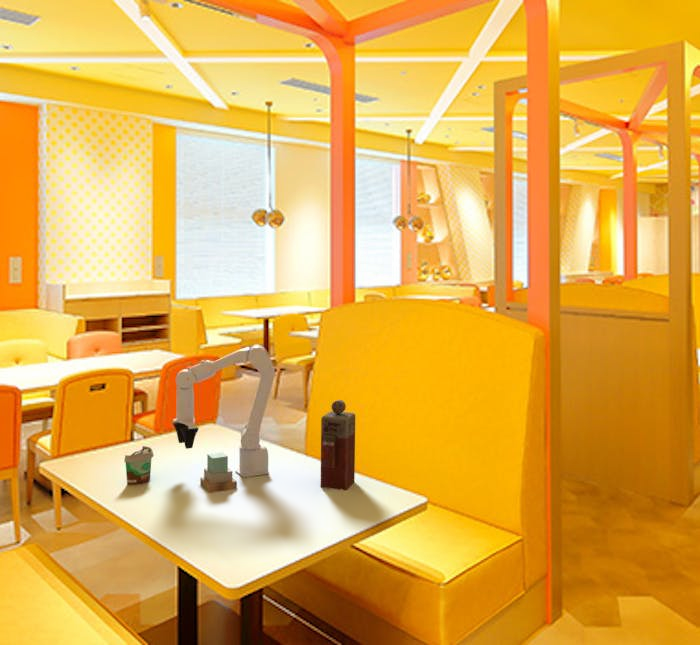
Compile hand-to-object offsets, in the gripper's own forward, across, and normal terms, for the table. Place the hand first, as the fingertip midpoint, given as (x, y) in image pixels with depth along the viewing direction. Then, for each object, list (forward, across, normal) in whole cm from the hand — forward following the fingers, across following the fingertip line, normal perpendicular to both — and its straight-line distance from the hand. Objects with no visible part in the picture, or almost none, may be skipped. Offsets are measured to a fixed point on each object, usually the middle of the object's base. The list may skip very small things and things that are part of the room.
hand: (185, 445), depth 229 cm
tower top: (+8, +15, +6) cm, 18 cm away
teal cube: (+5, +16, +6) cm, 18 cm away
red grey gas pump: (+11, +33, +40) cm, 53 cm away
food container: (+11, -1, -14) cm, 18 cm away
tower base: (+11, +16, +6) cm, 20 cm away
